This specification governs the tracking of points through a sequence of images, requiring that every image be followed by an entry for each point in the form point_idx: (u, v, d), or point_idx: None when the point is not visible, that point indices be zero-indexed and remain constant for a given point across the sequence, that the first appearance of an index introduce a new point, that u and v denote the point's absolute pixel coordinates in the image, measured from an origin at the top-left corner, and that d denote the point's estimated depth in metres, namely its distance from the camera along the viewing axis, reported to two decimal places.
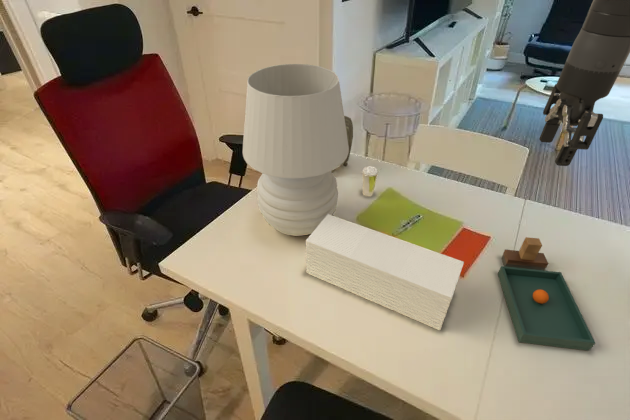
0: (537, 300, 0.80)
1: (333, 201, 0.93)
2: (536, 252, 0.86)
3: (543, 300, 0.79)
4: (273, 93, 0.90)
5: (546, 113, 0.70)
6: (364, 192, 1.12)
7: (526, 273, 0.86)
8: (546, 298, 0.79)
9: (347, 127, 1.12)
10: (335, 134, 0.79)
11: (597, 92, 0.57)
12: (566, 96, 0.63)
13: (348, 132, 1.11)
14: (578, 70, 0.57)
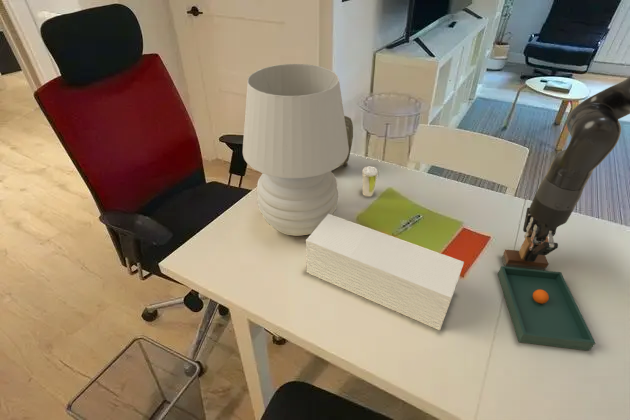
0: (537, 300, 0.80)
1: (333, 201, 0.93)
2: None
3: (543, 300, 0.79)
4: (273, 93, 0.90)
5: (526, 230, 0.88)
6: (364, 192, 1.12)
7: (526, 273, 0.86)
8: (546, 298, 0.79)
9: (347, 127, 1.12)
10: (335, 134, 0.79)
11: (557, 222, 0.77)
12: None
13: (348, 132, 1.11)
14: (543, 206, 0.77)
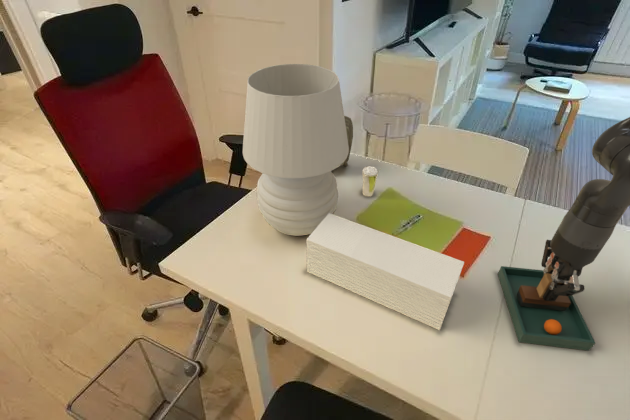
0: (550, 325, 0.74)
1: (333, 201, 0.93)
2: None
3: (555, 321, 0.74)
4: (273, 93, 0.90)
5: (544, 265, 0.78)
6: (364, 192, 1.12)
7: (526, 273, 0.86)
8: (557, 321, 0.74)
9: (347, 127, 1.12)
10: (335, 134, 0.79)
11: (584, 261, 0.67)
12: None
13: (348, 132, 1.11)
14: (568, 243, 0.67)
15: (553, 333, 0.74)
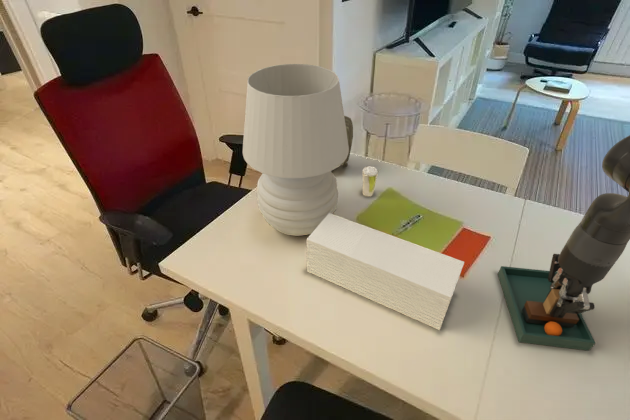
0: (550, 328, 0.74)
1: (333, 201, 0.93)
2: None
3: (555, 325, 0.73)
4: (273, 93, 0.90)
5: (551, 280, 0.75)
6: (364, 192, 1.12)
7: (526, 273, 0.86)
8: (557, 324, 0.74)
9: (347, 127, 1.12)
10: (335, 134, 0.79)
11: (594, 278, 0.64)
12: None
13: (348, 132, 1.11)
14: (578, 260, 0.64)
15: None
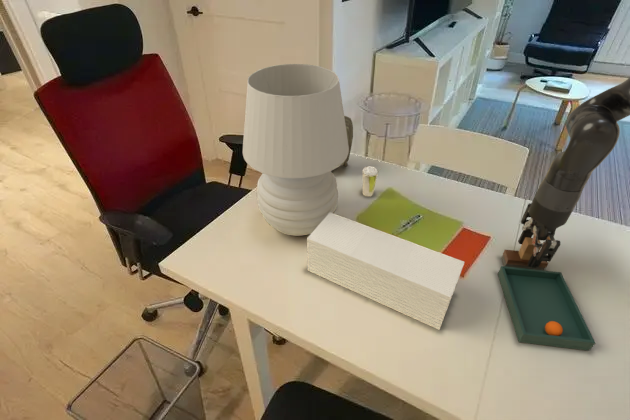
0: (551, 327, 0.74)
1: (333, 201, 0.93)
2: None
3: (557, 324, 0.74)
4: (273, 93, 0.90)
5: (523, 223, 0.90)
6: (364, 192, 1.12)
7: (526, 273, 0.86)
8: (559, 324, 0.74)
9: (347, 127, 1.12)
10: (335, 134, 0.79)
11: (556, 223, 0.78)
12: None
13: (348, 132, 1.11)
14: (543, 207, 0.77)
15: (554, 335, 0.74)
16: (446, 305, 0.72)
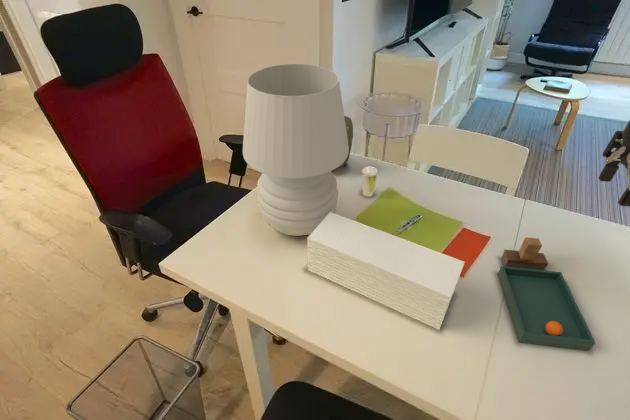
0: (552, 327, 0.74)
1: (333, 201, 0.93)
2: (536, 252, 0.86)
3: (557, 324, 0.74)
4: (273, 93, 0.90)
5: (606, 155, 0.77)
6: (364, 192, 1.12)
7: (526, 273, 0.86)
8: None
9: (347, 127, 1.12)
10: (335, 134, 0.79)
11: None
12: None
13: (348, 132, 1.11)
14: None
15: (554, 335, 0.74)
16: (446, 305, 0.72)
